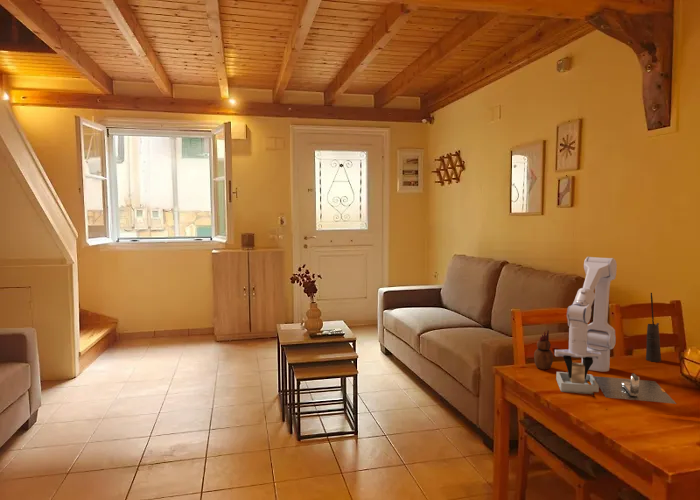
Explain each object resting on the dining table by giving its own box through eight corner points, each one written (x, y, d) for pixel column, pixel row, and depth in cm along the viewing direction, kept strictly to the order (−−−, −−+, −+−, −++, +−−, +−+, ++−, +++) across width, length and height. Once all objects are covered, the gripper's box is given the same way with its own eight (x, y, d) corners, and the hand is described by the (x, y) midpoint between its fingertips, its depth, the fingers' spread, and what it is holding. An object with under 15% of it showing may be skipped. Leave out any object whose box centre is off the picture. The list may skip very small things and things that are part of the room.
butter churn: (658, 355, 198) (661, 290, 195) (674, 363, 188) (677, 294, 186) (636, 356, 198) (639, 290, 195) (651, 363, 188) (654, 294, 186)
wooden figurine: (549, 365, 187) (550, 328, 186) (554, 370, 181) (555, 332, 180) (532, 365, 188) (532, 328, 186) (536, 370, 182) (537, 332, 181)
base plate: (605, 400, 153) (605, 396, 153) (592, 378, 172) (592, 375, 172) (676, 406, 148) (676, 403, 148) (654, 383, 167) (654, 380, 167)
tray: (561, 391, 161) (561, 383, 161) (556, 379, 172) (556, 371, 172) (598, 394, 158) (598, 386, 157) (591, 382, 169) (591, 374, 168)
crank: (619, 384, 163) (620, 364, 163) (631, 384, 162) (632, 365, 162) (629, 397, 152) (630, 376, 151) (642, 398, 151) (643, 377, 150)
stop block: (571, 382, 163) (572, 365, 163) (569, 378, 167) (570, 362, 166) (584, 383, 162) (584, 366, 161) (582, 379, 166) (582, 363, 165)
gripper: (557, 341, 162) (555, 379, 163) (603, 344, 157) (602, 383, 159) (554, 335, 168) (553, 372, 169) (599, 338, 164) (597, 376, 165)
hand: (576, 377), depth 165 cm, fingers closed on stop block, 4 cm apart
